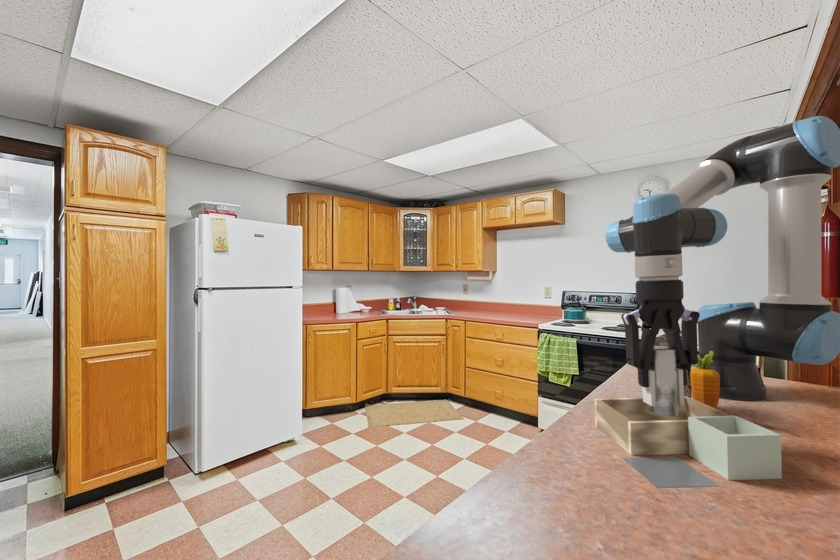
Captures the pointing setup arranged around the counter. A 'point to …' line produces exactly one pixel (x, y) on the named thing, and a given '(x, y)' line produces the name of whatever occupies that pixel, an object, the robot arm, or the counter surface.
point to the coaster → (669, 472)
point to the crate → (648, 425)
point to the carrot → (705, 382)
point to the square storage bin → (735, 447)
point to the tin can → (665, 381)
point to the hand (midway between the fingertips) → (663, 402)
